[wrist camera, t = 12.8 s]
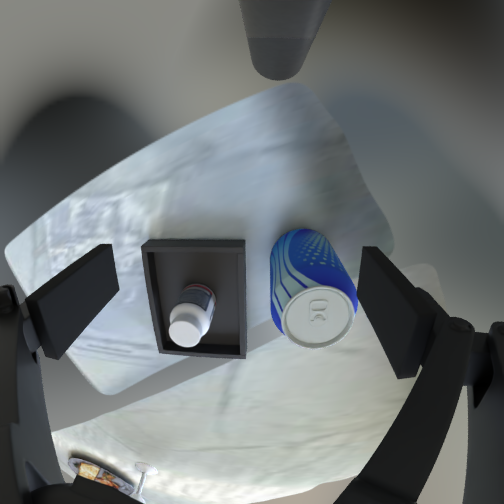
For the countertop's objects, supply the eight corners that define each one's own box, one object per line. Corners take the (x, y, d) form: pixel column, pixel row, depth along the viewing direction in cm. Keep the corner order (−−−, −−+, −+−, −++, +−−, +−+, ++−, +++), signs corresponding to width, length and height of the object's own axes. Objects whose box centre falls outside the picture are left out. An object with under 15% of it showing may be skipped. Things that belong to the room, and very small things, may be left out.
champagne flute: (159, 468, 63) (139, 539, 41) (155, 476, 66) (136, 542, 43) (136, 459, 63) (112, 529, 40) (133, 468, 65) (111, 532, 42)
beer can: (344, 250, 40) (382, 310, 25) (305, 295, 43) (320, 369, 28) (296, 213, 39) (314, 257, 24) (257, 261, 41) (251, 328, 26)
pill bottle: (175, 287, 43) (156, 320, 35) (208, 278, 42) (194, 311, 34) (189, 318, 45) (174, 354, 36) (222, 310, 44) (212, 347, 35)
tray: (148, 239, 41) (140, 246, 38) (245, 239, 40) (243, 247, 38) (164, 342, 47) (159, 353, 44) (247, 347, 46) (245, 359, 44)
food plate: (122, 495, 76) (120, 502, 72) (67, 465, 72) (63, 471, 69) (143, 482, 68) (140, 490, 65) (76, 446, 65) (71, 454, 61)
